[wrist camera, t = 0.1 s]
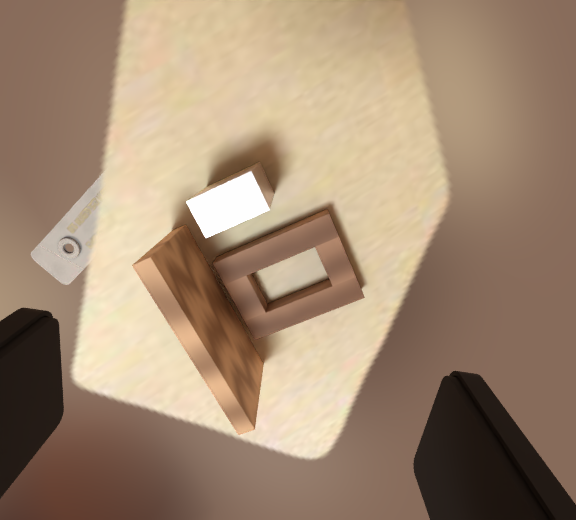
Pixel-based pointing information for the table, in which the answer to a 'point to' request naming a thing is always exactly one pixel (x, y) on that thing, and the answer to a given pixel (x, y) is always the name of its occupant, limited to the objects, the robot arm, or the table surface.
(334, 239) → the wooden backboard stand
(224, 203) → the tall grey rectangular prism
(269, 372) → the table surface
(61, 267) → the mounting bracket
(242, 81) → the table surface
